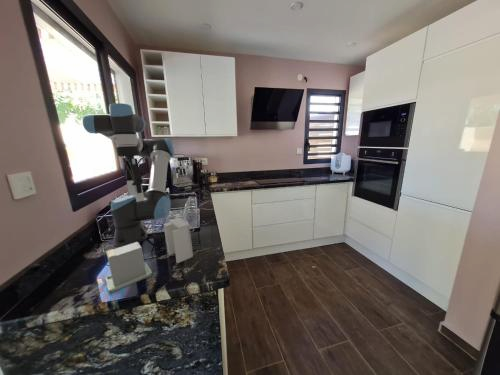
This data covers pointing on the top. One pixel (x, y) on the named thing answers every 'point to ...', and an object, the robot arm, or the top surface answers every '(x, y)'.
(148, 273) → the tray
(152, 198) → the robot arm
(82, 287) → the top surface
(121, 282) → the upright pale grey block
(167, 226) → the printer bay
